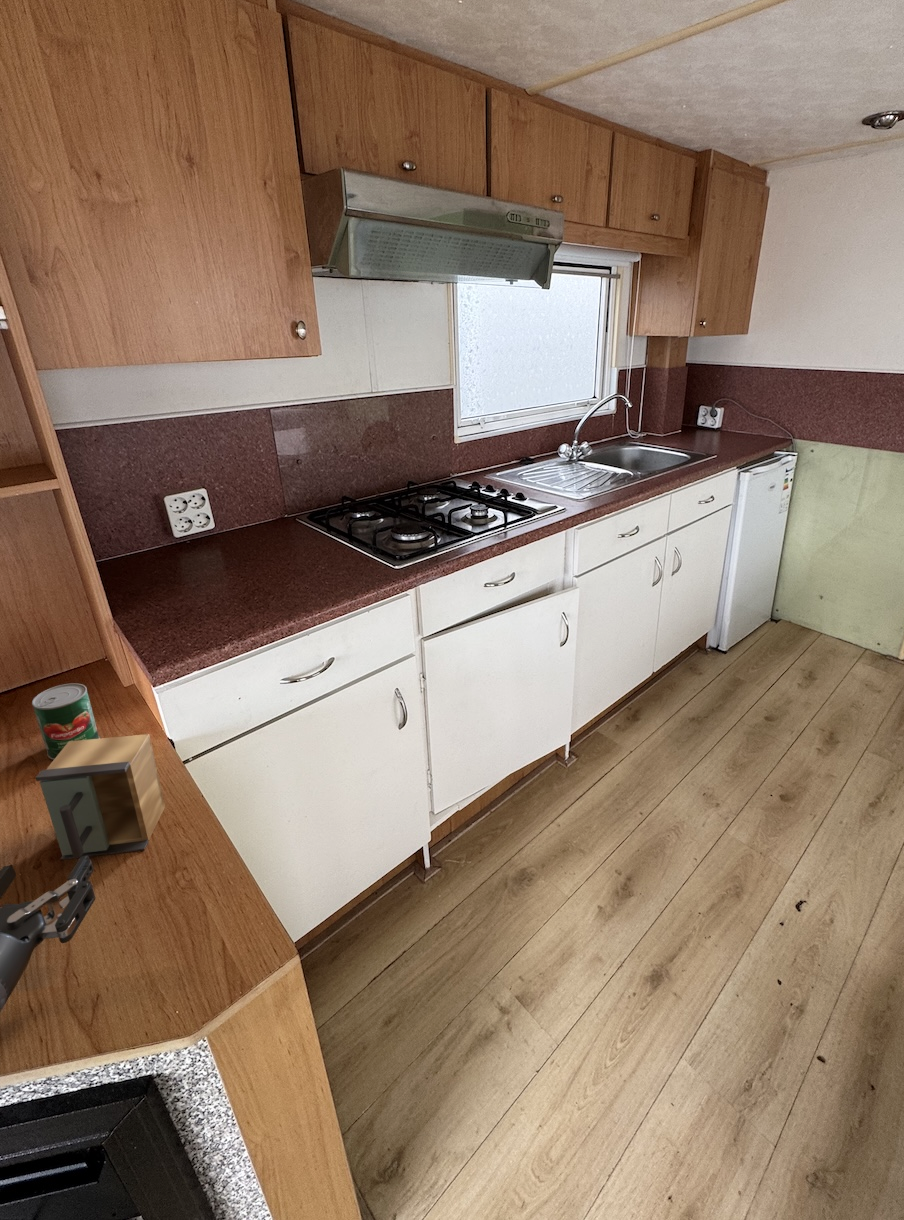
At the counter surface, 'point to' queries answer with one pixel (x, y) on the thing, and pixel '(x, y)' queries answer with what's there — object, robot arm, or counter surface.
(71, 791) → the slide door
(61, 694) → the canned tomato
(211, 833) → the counter surface
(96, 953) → the counter surface
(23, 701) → the counter surface
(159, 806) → the cabinet
